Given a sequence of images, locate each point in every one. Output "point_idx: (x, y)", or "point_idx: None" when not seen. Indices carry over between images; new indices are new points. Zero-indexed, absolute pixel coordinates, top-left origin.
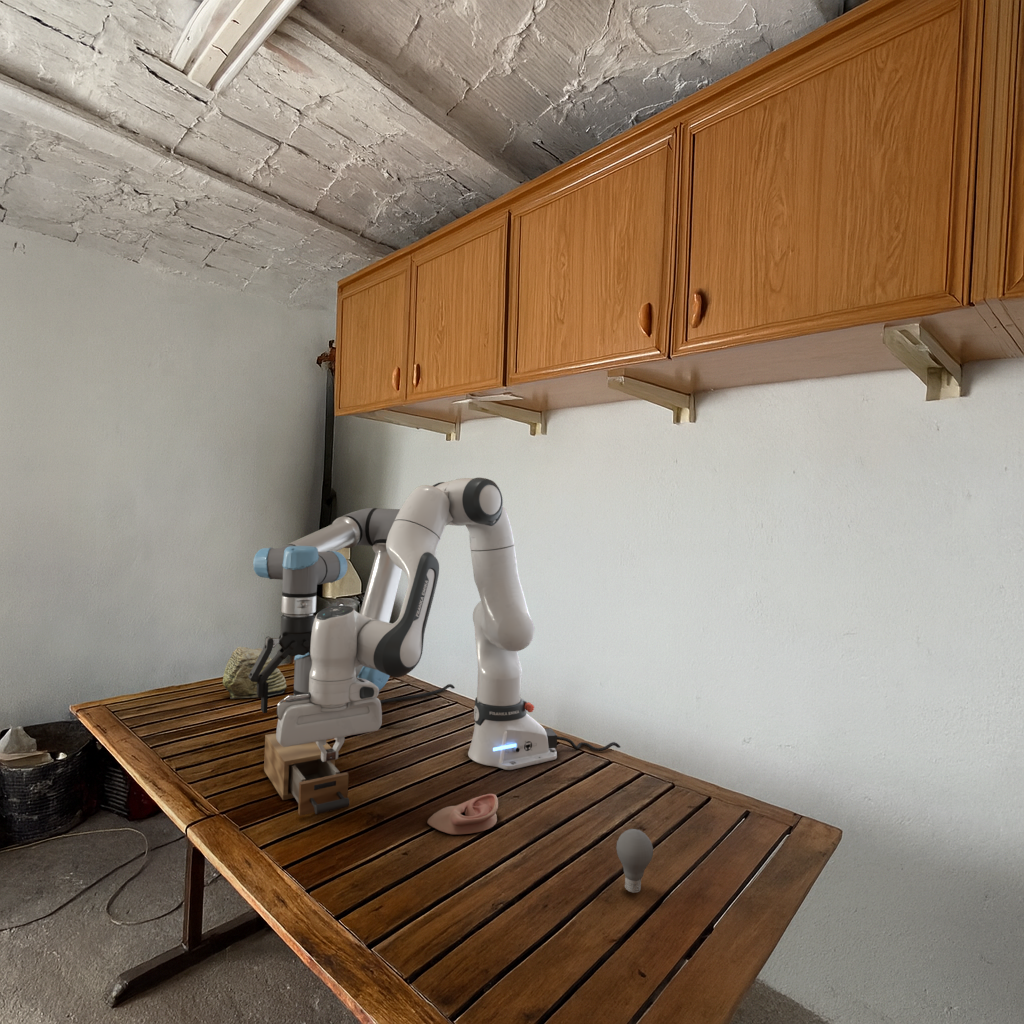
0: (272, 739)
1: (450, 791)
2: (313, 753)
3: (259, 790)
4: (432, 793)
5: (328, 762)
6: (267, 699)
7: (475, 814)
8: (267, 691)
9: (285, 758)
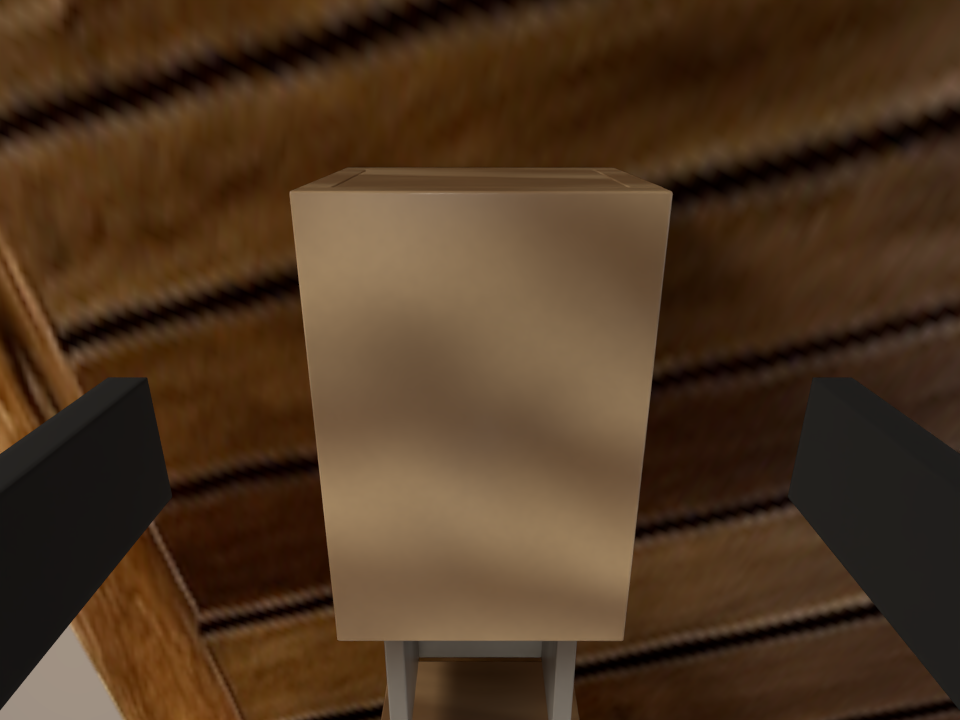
0: (326, 310)
1: (947, 704)
2: (507, 617)
3: (295, 384)
4: (885, 691)
5: (561, 650)
6: (85, 601)
7: None
8: (6, 689)
9: (349, 612)
